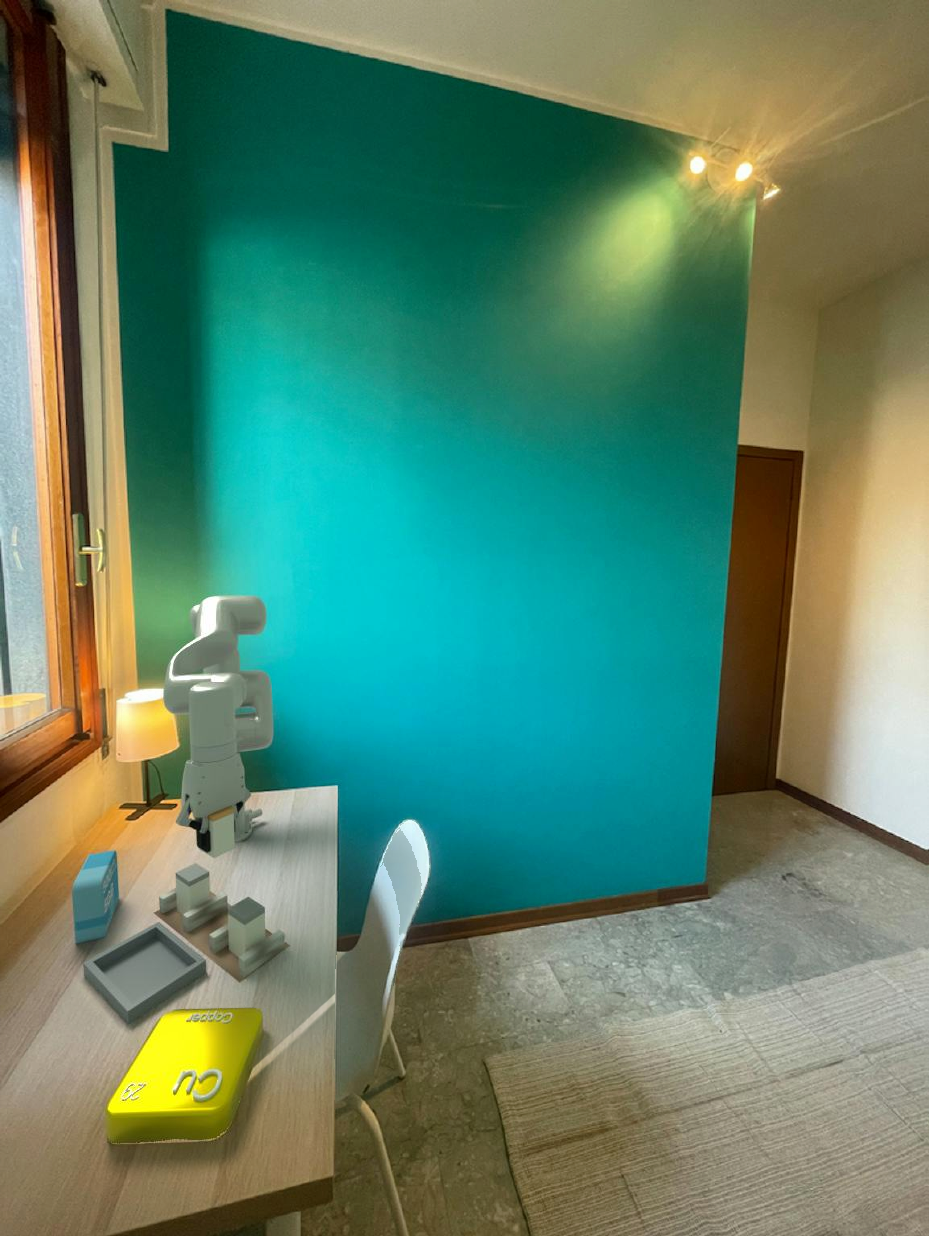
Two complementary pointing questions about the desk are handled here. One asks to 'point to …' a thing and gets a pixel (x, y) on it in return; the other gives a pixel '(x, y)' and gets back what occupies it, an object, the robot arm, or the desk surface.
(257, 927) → the block
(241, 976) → the fuse board
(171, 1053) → the element tile
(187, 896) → the block
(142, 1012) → the tray
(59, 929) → the desk surface
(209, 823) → the block
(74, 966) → the desk surface
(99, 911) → the data package
